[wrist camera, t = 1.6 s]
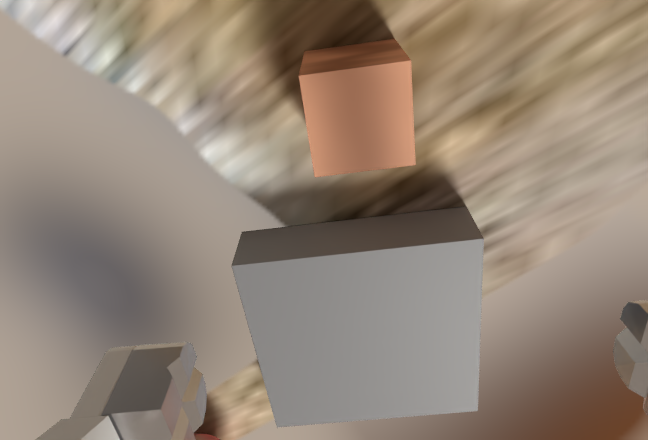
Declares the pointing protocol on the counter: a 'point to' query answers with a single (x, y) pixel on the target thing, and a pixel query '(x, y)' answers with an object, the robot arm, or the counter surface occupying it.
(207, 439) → the decorative fruit
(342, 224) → the base slab
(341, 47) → the terracotta block
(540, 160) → the counter surface
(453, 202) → the counter surface
